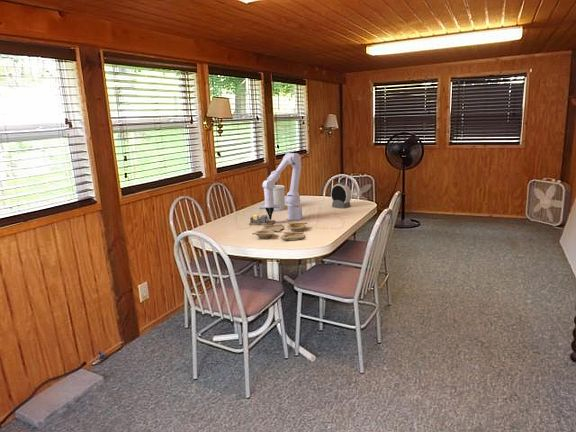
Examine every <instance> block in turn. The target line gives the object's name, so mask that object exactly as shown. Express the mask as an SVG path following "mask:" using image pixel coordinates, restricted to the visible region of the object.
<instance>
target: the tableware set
mask: <svg viewBox="0 0 576 432" xmlns="http://www.w3.org/2000/svg"><path fill="white" fill-rule="evenodd" d="M307 225H308V222H306V221H304V222H287V226H286V227H287V228H288V229H290V230H291V231H283V234H282V235H280V239H281V240H284V241H298V240H302V239H304V238H305V235H304V232H302V231H303V230H304V229H305V228H306V227H307ZM262 226H263V227H262V228H261V229H260V230H259V229H258V230H256V231H254V232H251V235H256V236H257V237H258V238H259V239H269V238H271V236H272V235H274V234H275V232H281V231H282V230H284V226H283V224H282V223H280V224H279V223H277V224H272V225H262Z"/></svg>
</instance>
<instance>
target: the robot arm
mask: <svg viewBox="0 0 576 432" xmlns="http://www.w3.org/2000/svg"><path fill="white" fill-rule="evenodd" d="M301 159H302V156H301V155H300V153H298V152H295V153H294V152H287V153H285V155H284V156H283V157H282V160H281V161H280V164H279V165H278V166H277V168H276V169H275V170H273V171H271V172H270V175H268V177H267V178H266V179H265V180H264V181H263V182H262V184H261V187H262V188H263V194H264V204H263V205H258V206H257V207H258V208H257V209H258V210H265V211H266V213H267V217H269V220H272V216H273V213H274V212H275V211H274V208H281V205H274V198H273V188H274V187H275V185H276V183H277V181H278V180H279V179H280V177H281V173H282V172H283V170H285V169H286V167H287V166H288V165H290V166H291V167H292V173H291V179H290V185H289V191H288V192H287V194H286V197H285V205H286V206H287V218H286V220H287V221H291V220H292V221H300V220H302V218H303V208H302V207H303V206H302V205H300V203H301V195H300V194H299V186H300V179H301V174H302V172H301V171H302V162H301V161H302V160H301ZM269 208H270V209H269Z"/></svg>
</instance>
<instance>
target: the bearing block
mask: <svg viewBox="0 0 576 432" xmlns="http://www.w3.org/2000/svg"><path fill="white" fill-rule="evenodd" d="M259 217H260V219H261V223H266V220H265V217H268V214H263V215H261V216H259Z"/></svg>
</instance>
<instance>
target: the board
mask: <svg viewBox="0 0 576 432" xmlns="http://www.w3.org/2000/svg"><path fill="white" fill-rule="evenodd" d="M275 223H276V220H275V219H273V220H272V219H271V220H269V222H266V223H250V222H249V223H248V225H249V226H263V225H274V224H275Z"/></svg>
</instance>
